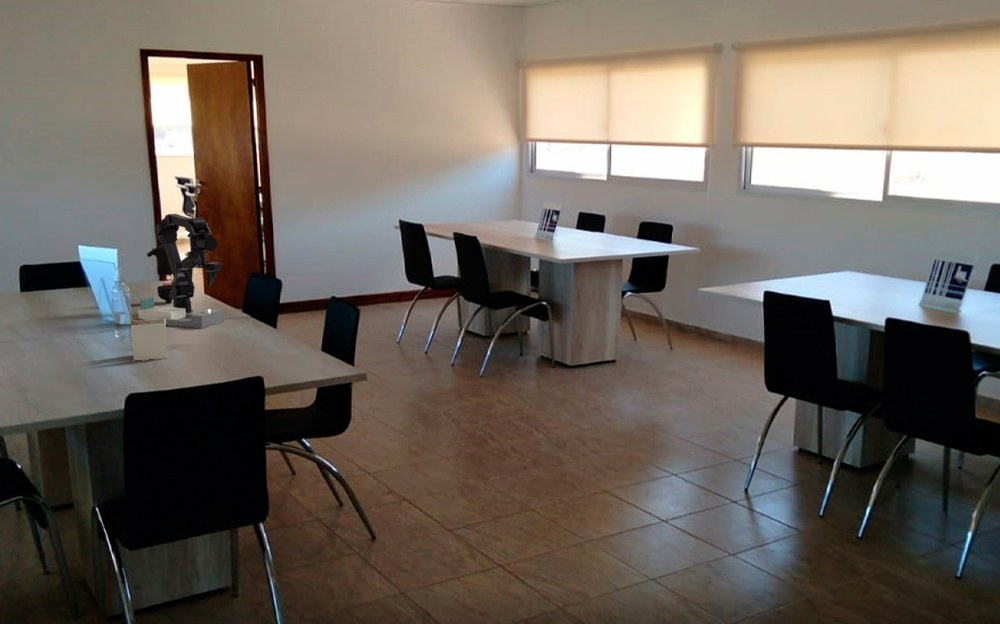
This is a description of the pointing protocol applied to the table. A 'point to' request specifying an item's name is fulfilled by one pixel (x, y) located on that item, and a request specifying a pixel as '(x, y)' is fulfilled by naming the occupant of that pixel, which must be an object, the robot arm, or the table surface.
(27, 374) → the table surface
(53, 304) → the table surface
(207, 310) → the release plunger
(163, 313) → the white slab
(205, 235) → the robot arm
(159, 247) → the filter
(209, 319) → the filter housing
